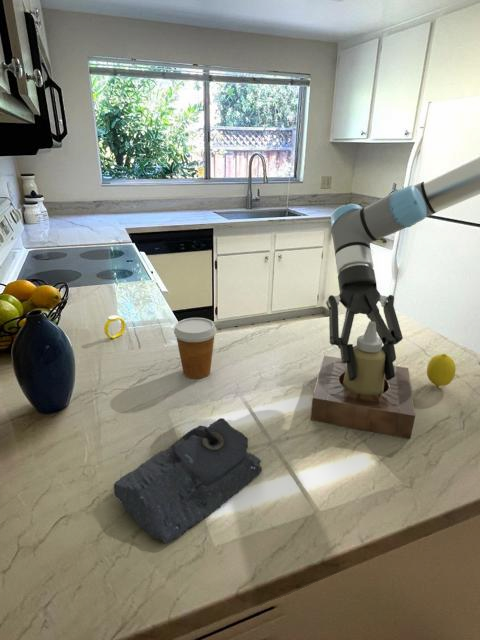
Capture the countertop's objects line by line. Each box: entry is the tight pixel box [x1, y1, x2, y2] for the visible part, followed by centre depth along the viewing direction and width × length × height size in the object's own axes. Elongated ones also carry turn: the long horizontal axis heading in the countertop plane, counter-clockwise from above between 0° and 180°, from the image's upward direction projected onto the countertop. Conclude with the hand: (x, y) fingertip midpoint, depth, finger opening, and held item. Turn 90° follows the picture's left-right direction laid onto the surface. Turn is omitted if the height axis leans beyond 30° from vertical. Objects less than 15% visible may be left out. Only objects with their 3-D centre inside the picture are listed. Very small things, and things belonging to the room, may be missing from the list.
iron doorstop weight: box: [113, 417, 263, 544], centre depth 62 cm, size 15×22×5 cm
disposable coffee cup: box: [173, 317, 217, 380], centre depth 92 cm, size 10×10×12 cm
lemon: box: [426, 353, 457, 387], centre depth 88 cm, size 6×6×8 cm
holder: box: [310, 355, 416, 440], centre depth 82 cm, size 18×18×5 cm
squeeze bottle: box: [343, 320, 386, 395], centre depth 79 cm, size 8×8×18 cm
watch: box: [103, 314, 126, 340], centre depth 110 cm, size 6×3×6 cm, turn 144°
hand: (371, 378), depth 77 cm, fingers closed on squeeze bottle, 6 cm apart
